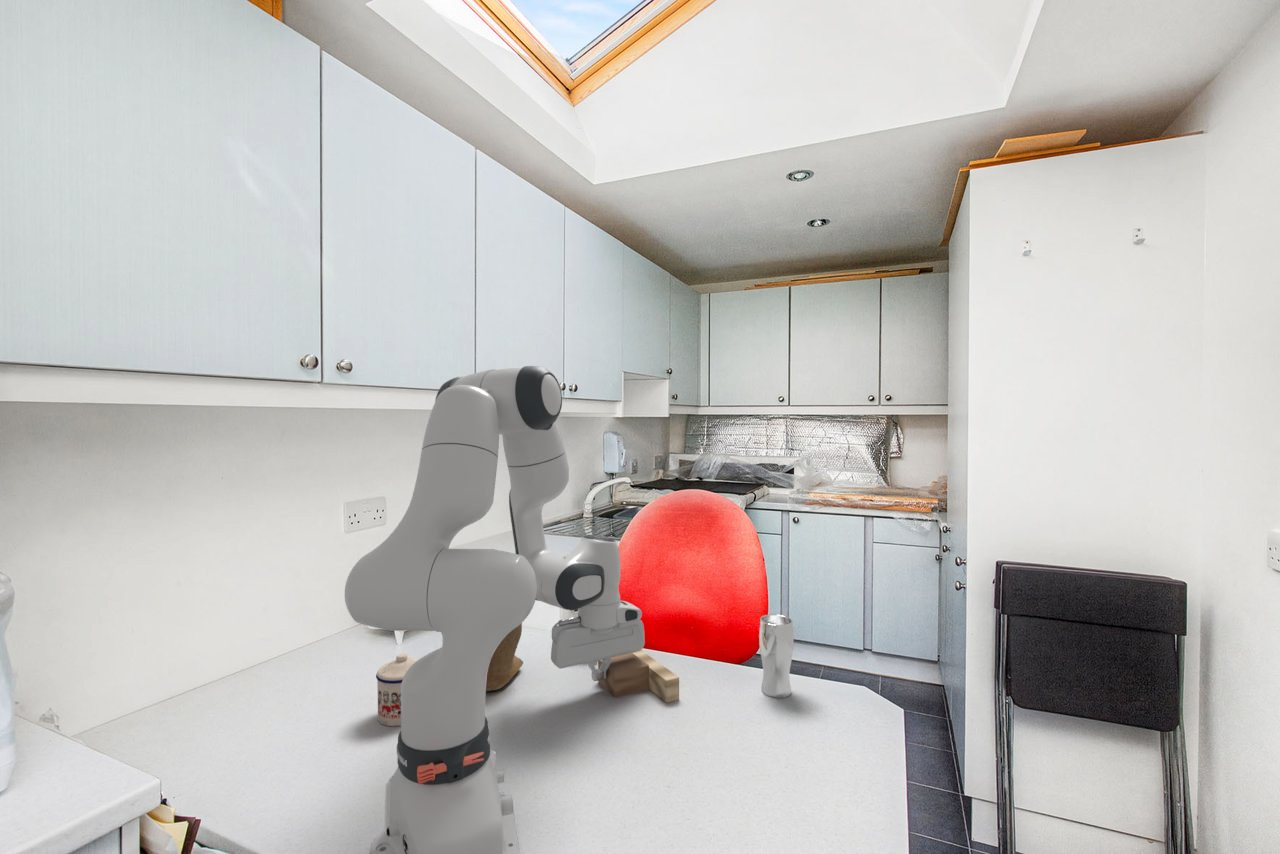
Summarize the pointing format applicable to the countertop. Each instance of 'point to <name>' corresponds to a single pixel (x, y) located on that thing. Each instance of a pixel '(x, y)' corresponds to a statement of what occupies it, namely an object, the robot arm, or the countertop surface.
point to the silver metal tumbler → (776, 654)
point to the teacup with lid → (392, 689)
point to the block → (625, 675)
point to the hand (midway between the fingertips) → (598, 679)
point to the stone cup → (504, 661)
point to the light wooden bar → (661, 679)
